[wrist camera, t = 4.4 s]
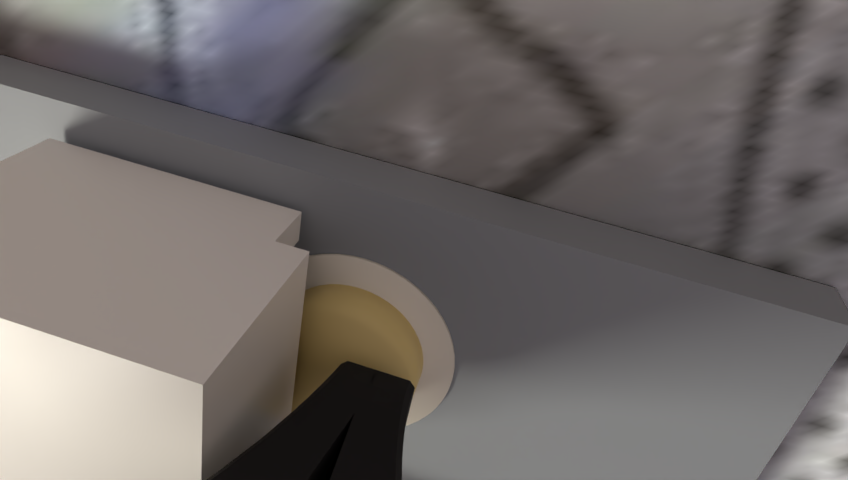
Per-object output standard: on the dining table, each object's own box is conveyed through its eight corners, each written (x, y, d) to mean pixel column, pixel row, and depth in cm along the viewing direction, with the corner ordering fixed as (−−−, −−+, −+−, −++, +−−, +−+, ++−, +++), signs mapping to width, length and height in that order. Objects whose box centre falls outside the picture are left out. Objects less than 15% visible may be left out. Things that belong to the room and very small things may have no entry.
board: (835, 287, 12) (890, 391, 9) (587, 689, 19) (583, 803, 16) (-69, 35, 14) (-208, 68, 11) (18, 483, 21) (-55, 559, 19)
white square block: (333, 221, 12) (203, 384, 8) (304, 440, 15) (198, 636, 11) (49, 137, 12) (-194, 253, 9) (75, 363, 15) (-100, 523, 12)
